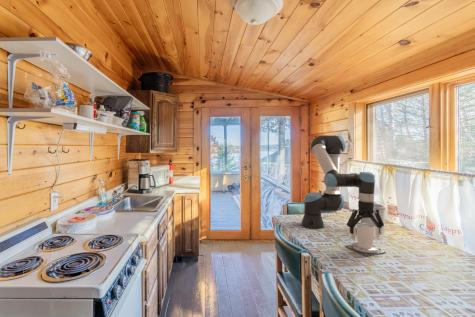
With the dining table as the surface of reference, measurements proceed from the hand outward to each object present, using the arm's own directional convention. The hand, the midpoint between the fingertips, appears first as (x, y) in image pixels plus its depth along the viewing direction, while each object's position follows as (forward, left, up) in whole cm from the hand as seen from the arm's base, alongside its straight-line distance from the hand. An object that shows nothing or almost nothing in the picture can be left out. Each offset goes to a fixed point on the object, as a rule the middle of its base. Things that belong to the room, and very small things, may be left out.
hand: (364, 239), depth 135 cm
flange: (0, 0, -6) cm, 6 cm away
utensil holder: (-23, +32, -6) cm, 40 cm away
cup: (0, 0, -4) cm, 4 cm away
